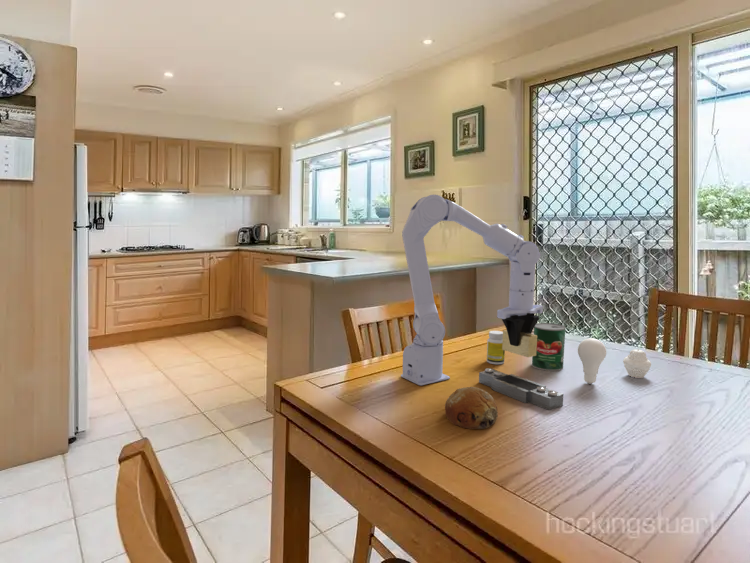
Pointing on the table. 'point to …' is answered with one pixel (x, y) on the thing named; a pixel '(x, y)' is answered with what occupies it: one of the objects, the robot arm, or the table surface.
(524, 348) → the link
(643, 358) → the muffin
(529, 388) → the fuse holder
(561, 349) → the canned tomato
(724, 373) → the table surface
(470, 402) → the bread roll
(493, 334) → the supplement bottle
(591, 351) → the lightbulb
